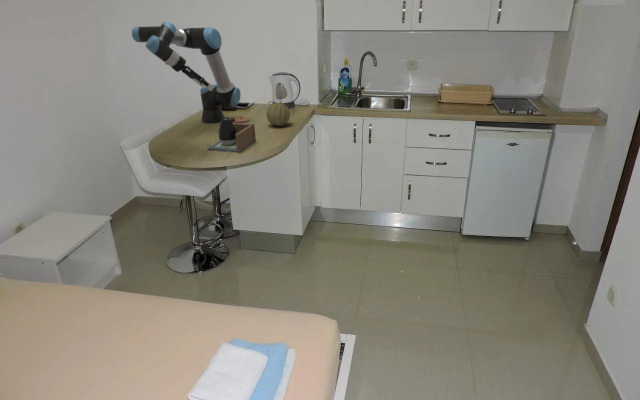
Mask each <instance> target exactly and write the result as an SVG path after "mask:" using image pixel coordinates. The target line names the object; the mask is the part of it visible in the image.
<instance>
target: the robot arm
mask: <svg viewBox="0 0 640 400" xmlns="http://www.w3.org/2000/svg"><path fill="white" fill-rule="evenodd" d="M131 37H132V39H133V41H135V42H136V43H145V47H146V49H147V50H148V51H149V52H151V53H152V54H153V55H154V56H156V58H158V59H160V60H161V61H162V62H164V64H165V66H167V65H168V66H169V67H170V68H171V69H172V70H174V71H175V72H177V73H178V72H180V71H181V73H183V74H184V75H186V76H187V77H188V78H189V79H191V80H193V82H195V83H196V84H197V85H199V86H200V87H201V88H200V89H199V90H200V91H199V93H200V98H201V106H202V114H201V122H202V123H204V124H215V123H221V120H222V119H223V118H225V114H224V113H223V110H222V108H221V106H224V107H225V106H227V107H233V106H234V107H236V106H237V105H238V104H239V103H240V102H241V89H240V87H237V86H235V84H234V82H232V81H231V79H230V77H229V74H228V72H227V69H226V66H225V64H224V60H223V58H222V55H221V52H220V50H221V46H222V42H223V41H222V37H221V34H220V32H219V31H218V29H216V28H215V27H209V26H206V27H190V28H189V27H187V28H176V26H175V24H173V23H172V22H170V21H167V20H165V21H163V22H162V23H161V24H160V25H159V26H158V25H157V26H156V25H153V26H140V25H139V26H134V27H133V28H132V29H131ZM171 45H175V46H177V47H181V48H186V49H194V50H196V49H197V50H200V52H201V54H202V55H203V56H205V57H206V60H207V63H208V66H209V69H210V70H211V73H212V75H213V78H214V80H215V81H214V82H216V84H211V83H209V82H208V81H207V80H206V79H205V78H204V77H203V76H201V75H200V74H199V73H197V72H195V70H193V69H192V68H191V67H190V66H188V65H186V63H187V60H186V59H185V58H184V57H183V56H181V55H180V54H179V53H178V52H176V51H175V50H174V49H173V48H172V47H171Z"/></svg>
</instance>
